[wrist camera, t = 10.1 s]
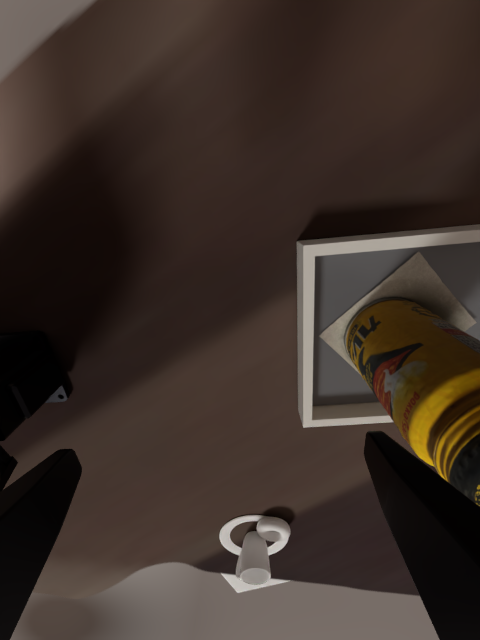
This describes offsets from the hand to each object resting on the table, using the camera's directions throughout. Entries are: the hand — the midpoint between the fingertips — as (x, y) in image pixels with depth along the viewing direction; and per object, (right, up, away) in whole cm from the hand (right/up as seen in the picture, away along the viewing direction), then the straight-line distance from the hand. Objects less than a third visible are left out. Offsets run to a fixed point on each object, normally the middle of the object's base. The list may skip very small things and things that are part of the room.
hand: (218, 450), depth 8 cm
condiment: (+12, +4, +12) cm, 17 cm away
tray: (+12, +3, +13) cm, 18 cm away
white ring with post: (+5, -21, +24) cm, 33 cm away
